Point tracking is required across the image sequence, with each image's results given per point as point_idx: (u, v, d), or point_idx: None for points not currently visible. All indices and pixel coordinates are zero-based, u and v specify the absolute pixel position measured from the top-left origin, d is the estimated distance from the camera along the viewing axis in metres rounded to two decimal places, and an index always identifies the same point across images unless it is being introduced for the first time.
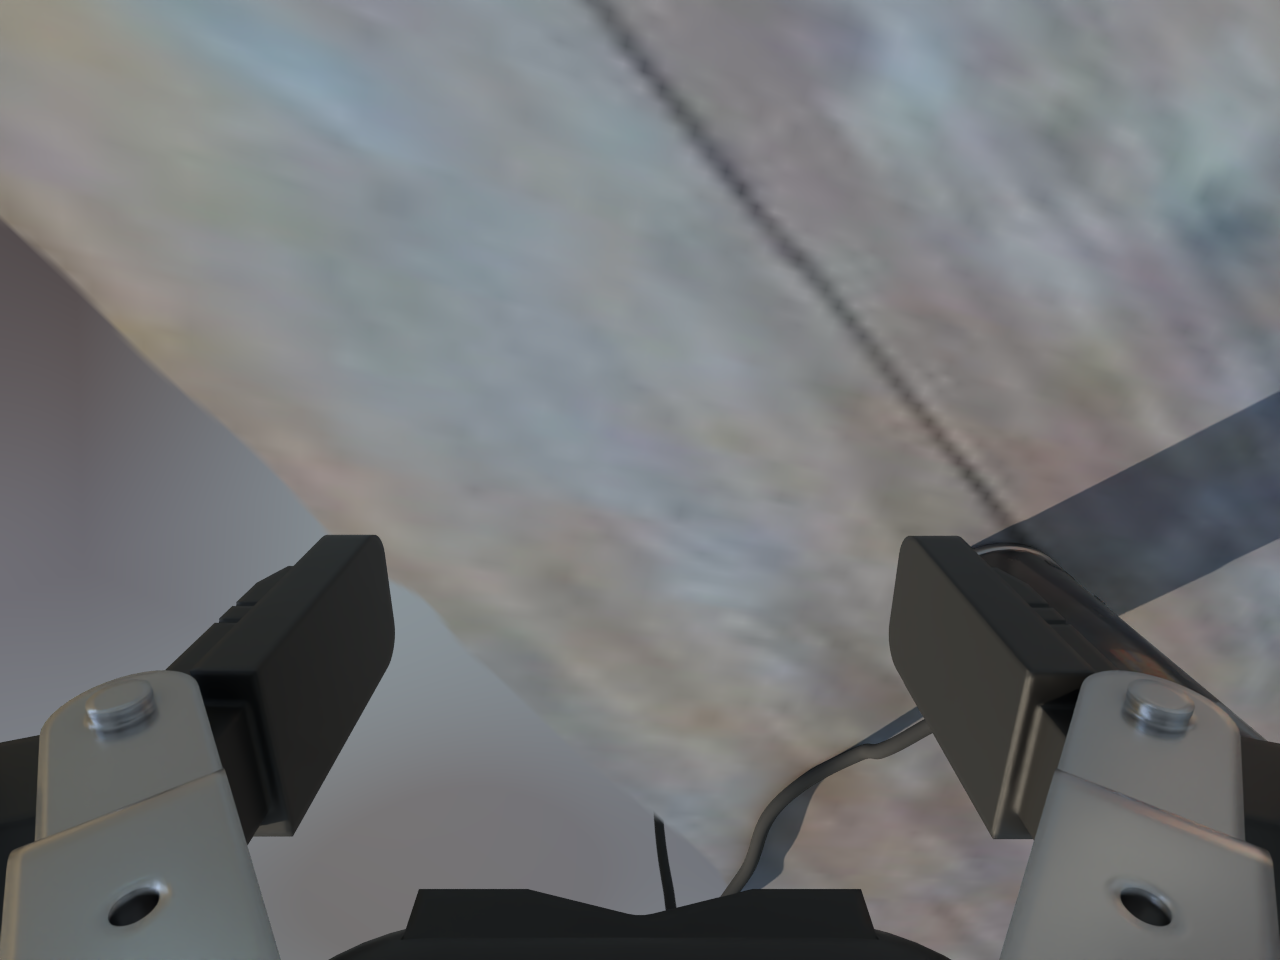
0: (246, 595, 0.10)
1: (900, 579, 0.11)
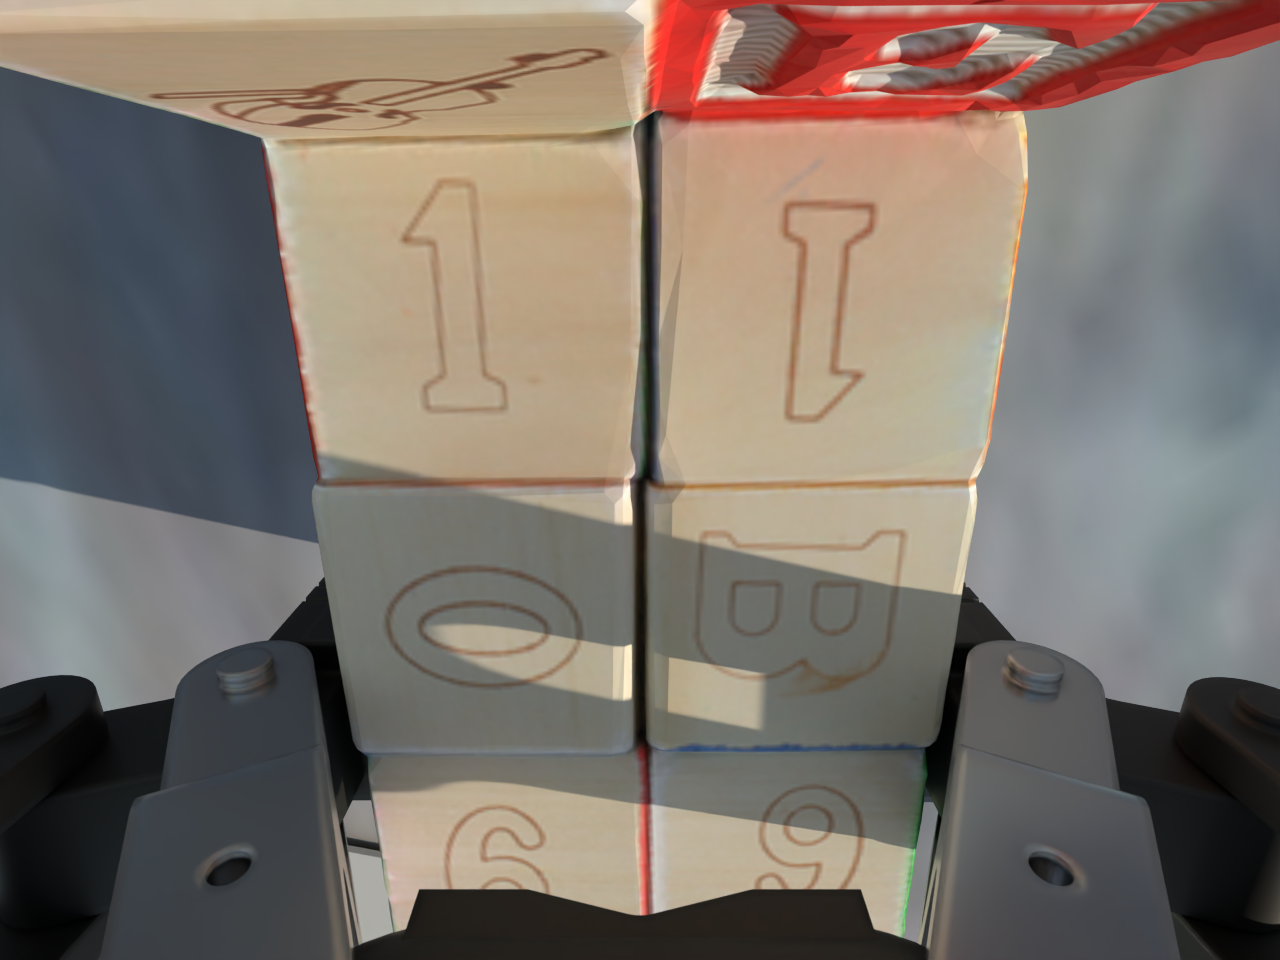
0: None
1: None
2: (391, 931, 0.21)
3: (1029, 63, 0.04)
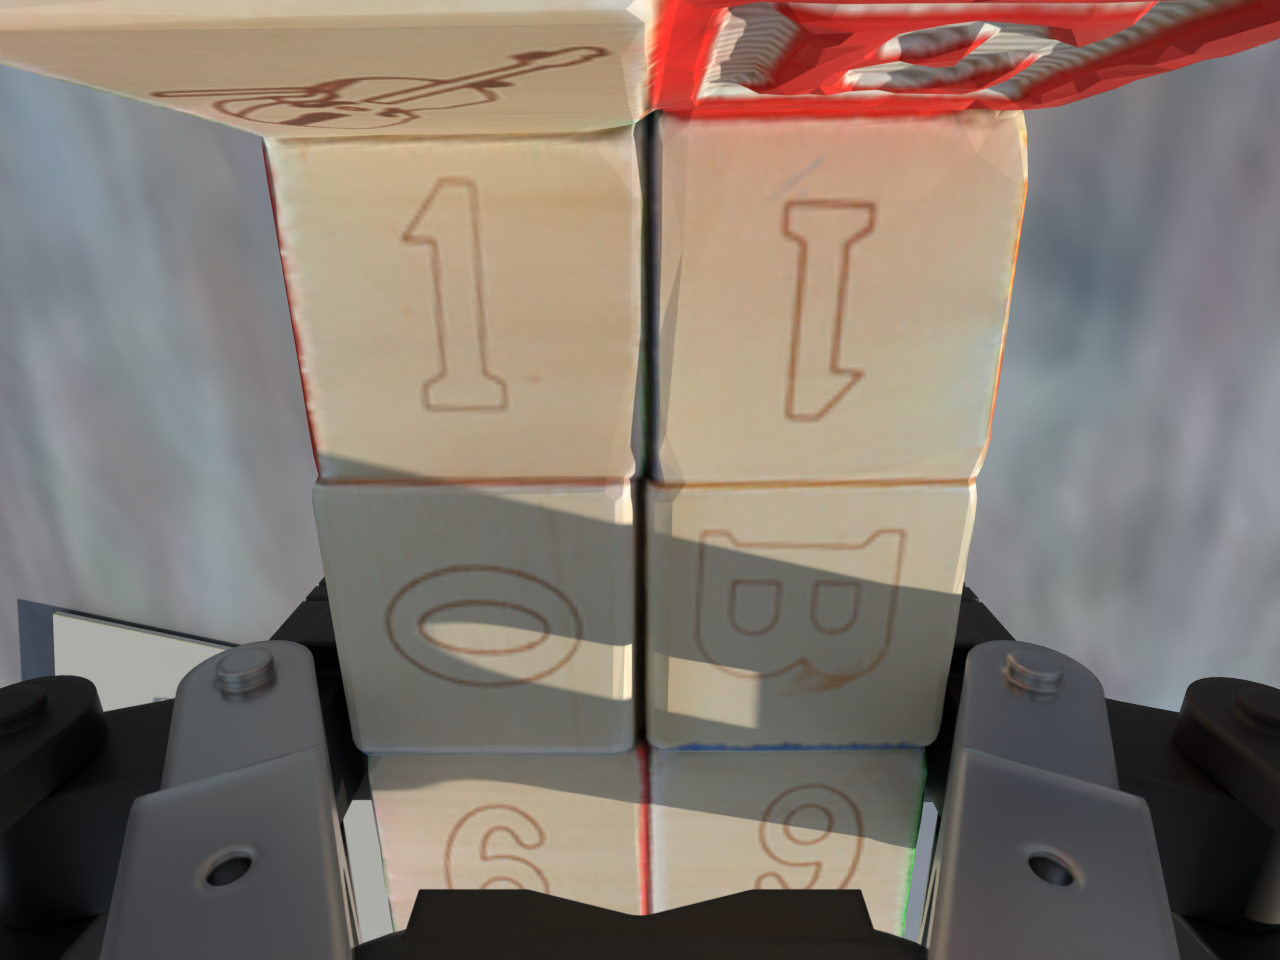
0: None
1: None
2: None
3: (1029, 62, 0.04)
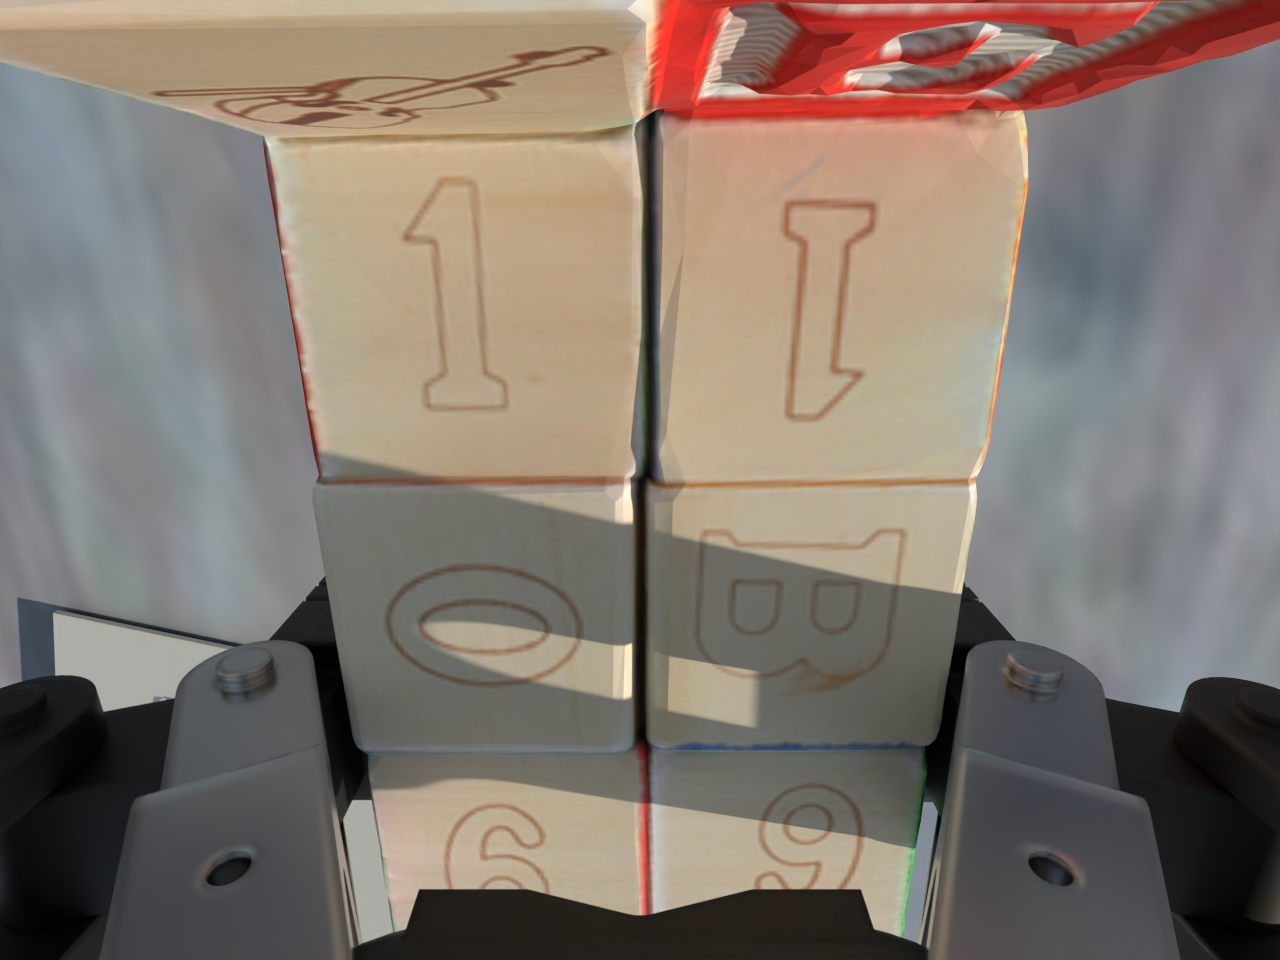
0: None
1: None
2: None
3: (1030, 63, 0.04)
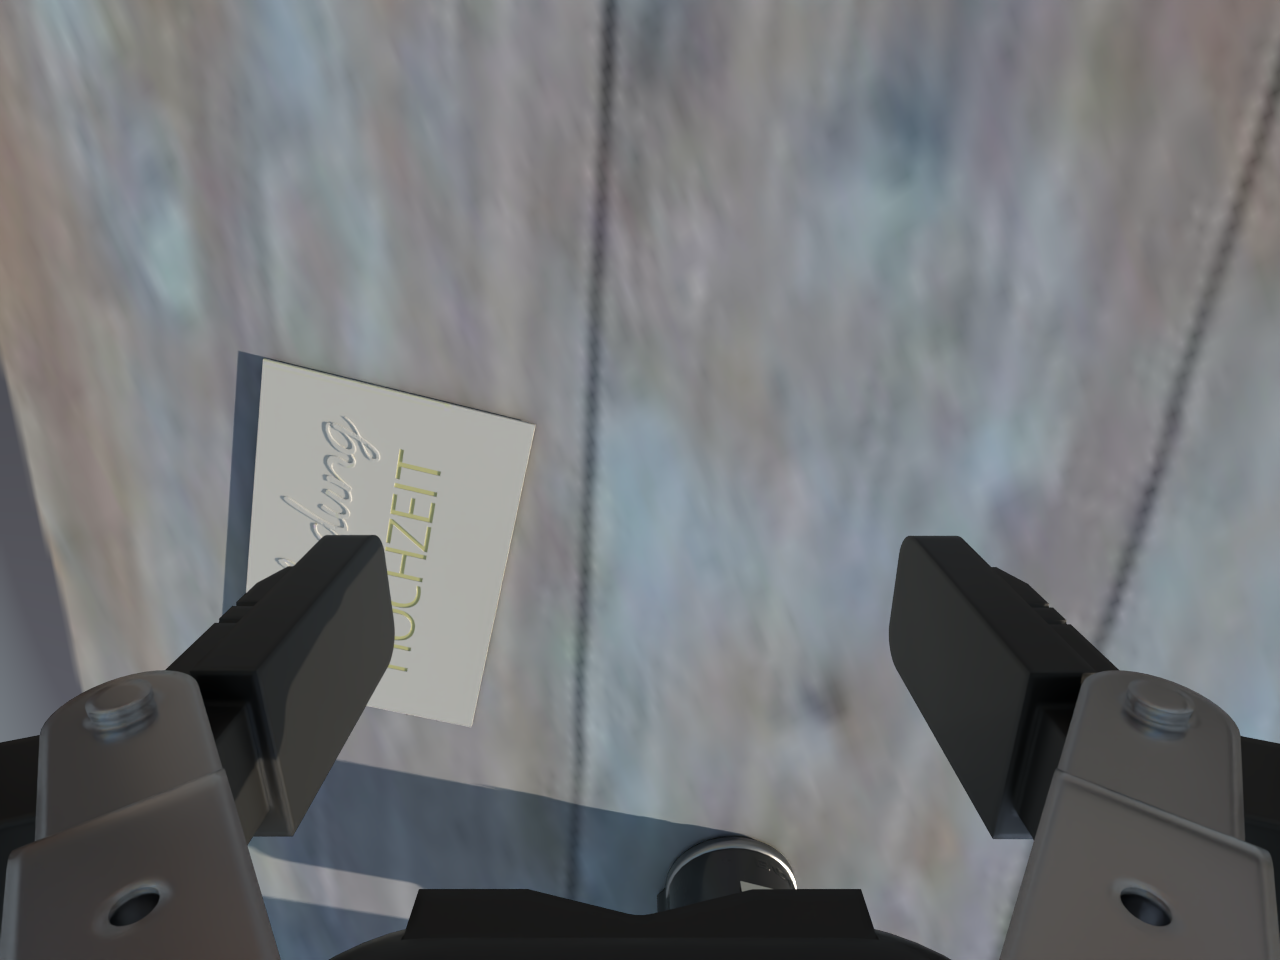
0: (246, 595, 0.10)
1: (900, 579, 0.11)
2: (514, 467, 0.41)
3: None
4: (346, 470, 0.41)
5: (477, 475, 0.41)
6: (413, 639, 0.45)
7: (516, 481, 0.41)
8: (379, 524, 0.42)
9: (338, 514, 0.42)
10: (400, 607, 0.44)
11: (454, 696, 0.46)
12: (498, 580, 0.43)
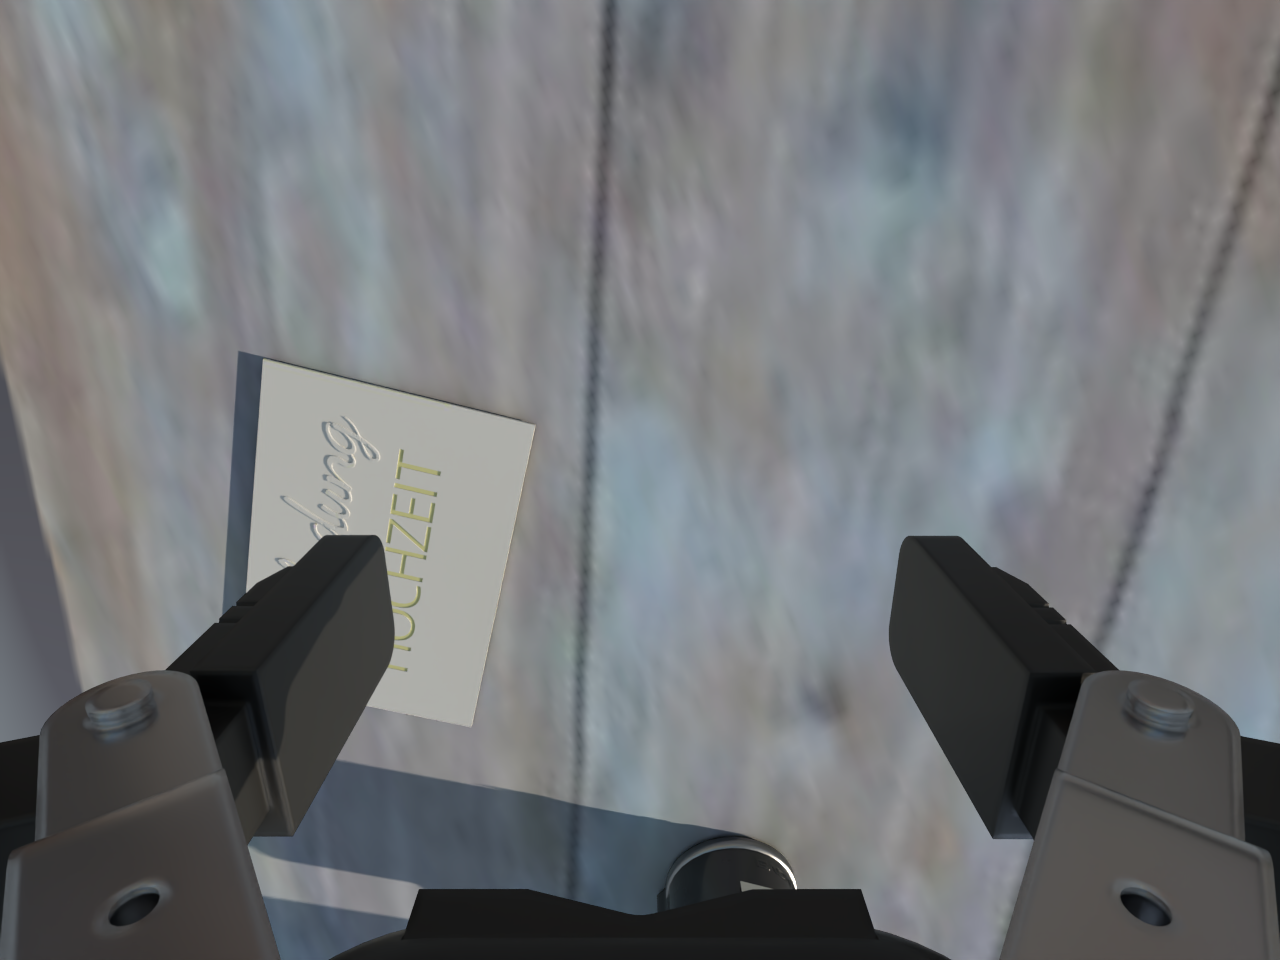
0: (246, 595, 0.10)
1: (900, 579, 0.11)
2: (514, 467, 0.41)
3: None
4: (346, 470, 0.41)
5: (477, 475, 0.41)
6: (413, 639, 0.45)
7: (516, 481, 0.41)
8: (379, 524, 0.42)
9: (338, 514, 0.42)
10: (400, 607, 0.44)
11: (454, 696, 0.46)
12: (498, 580, 0.43)
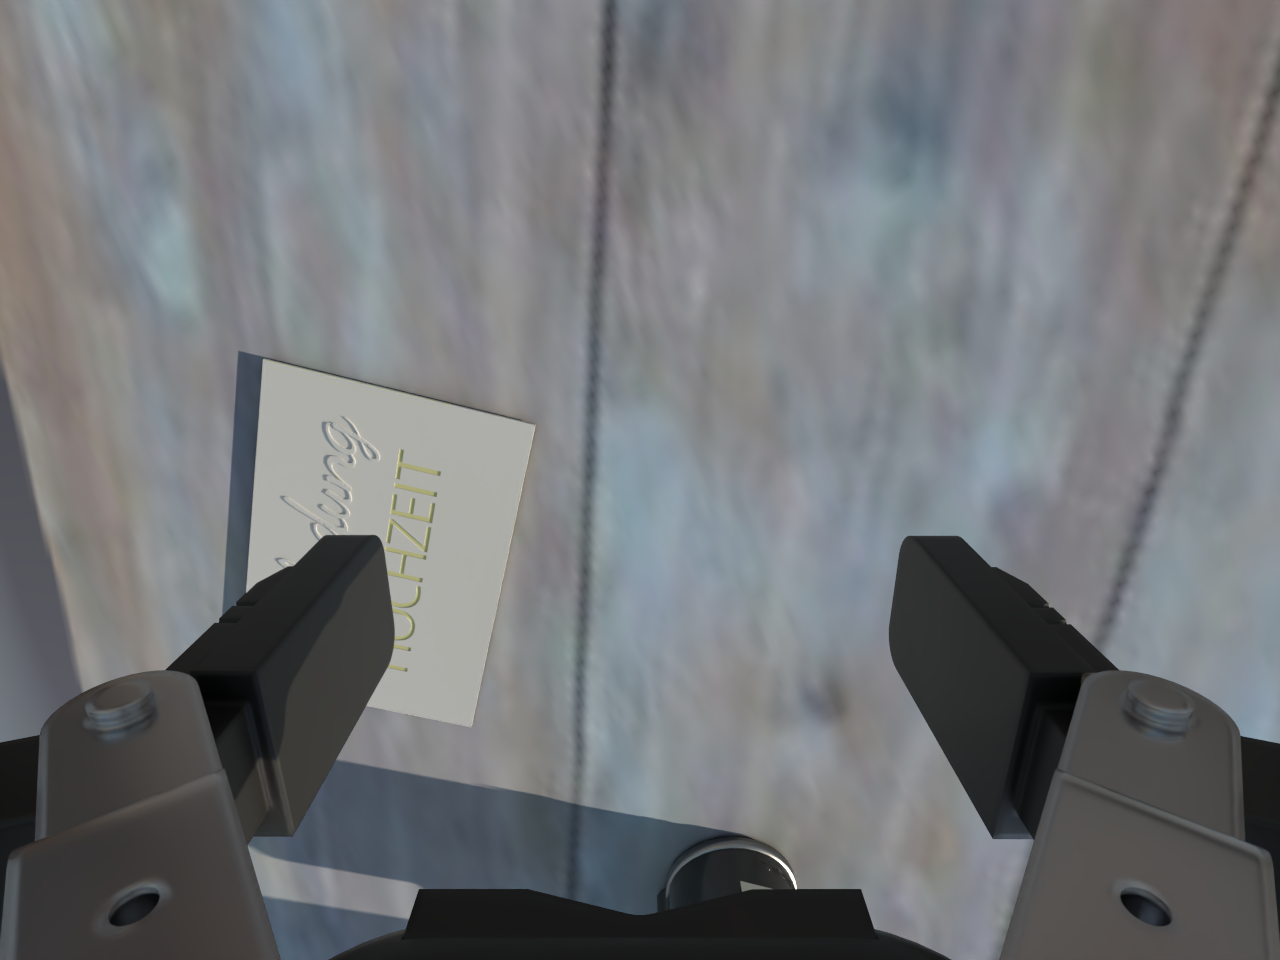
0: (246, 595, 0.10)
1: (900, 579, 0.11)
2: (514, 467, 0.41)
3: None
4: (346, 470, 0.41)
5: (477, 475, 0.41)
6: (413, 639, 0.45)
7: (516, 481, 0.41)
8: (379, 524, 0.42)
9: (338, 514, 0.42)
10: (400, 607, 0.44)
11: (454, 696, 0.46)
12: (498, 580, 0.43)
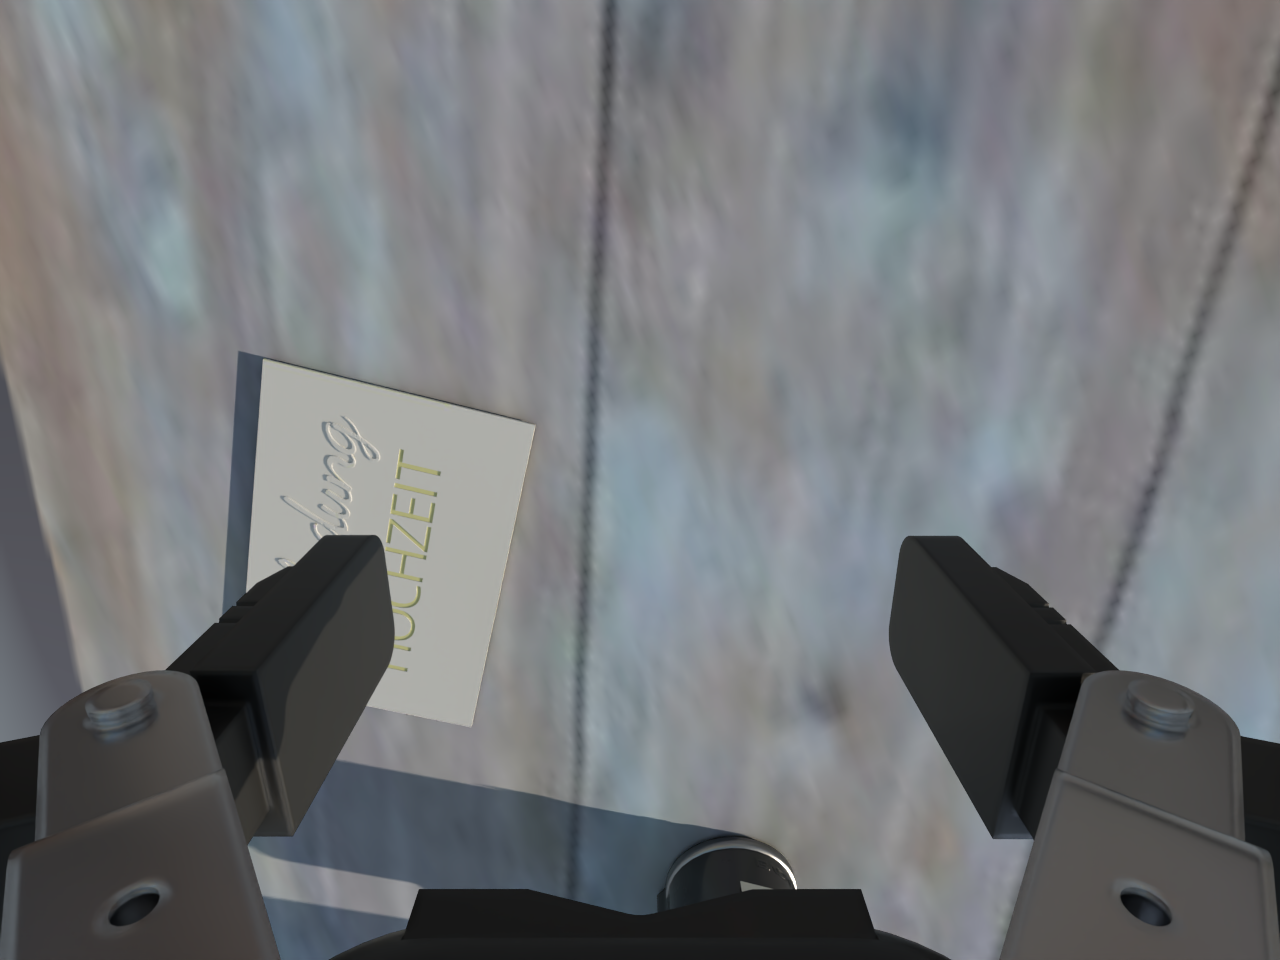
0: (246, 595, 0.10)
1: (900, 579, 0.11)
2: (514, 467, 0.41)
3: None
4: (346, 470, 0.41)
5: (477, 475, 0.41)
6: (413, 639, 0.45)
7: (516, 481, 0.41)
8: (379, 524, 0.42)
9: (338, 514, 0.42)
10: (400, 607, 0.44)
11: (454, 696, 0.46)
12: (498, 580, 0.43)
